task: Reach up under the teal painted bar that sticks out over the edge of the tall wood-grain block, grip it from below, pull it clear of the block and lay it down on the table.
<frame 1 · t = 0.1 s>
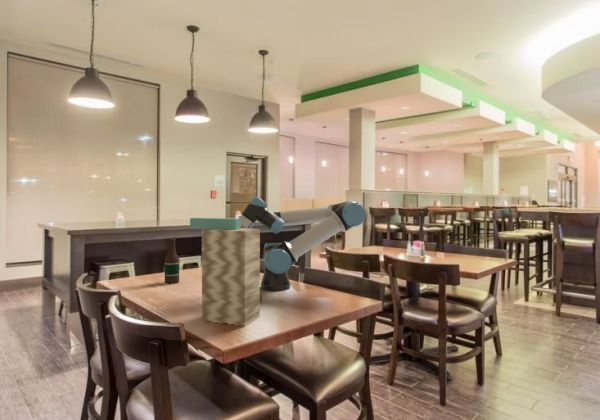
hand: (215, 262, 181), 15 cm above the table, tool tilted 35°, fingers open, 13 cm apart
tall wood-grain block: (231, 318, 147), on the table
beer bottle: (172, 283, 209), on the table
carton: (240, 304, 169), on the table
bar: (215, 228, 148), point 34 cm above the table, touching tall wood-grain block
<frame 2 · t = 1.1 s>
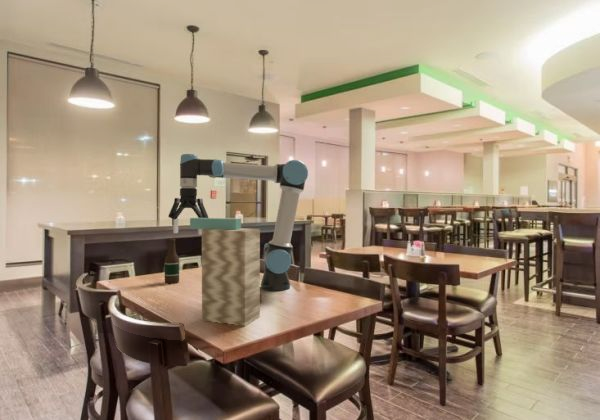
hand: (187, 233, 179), 29 cm above the table, tool pointing down, fingers open, 13 cm apart
nothing on the table moved.
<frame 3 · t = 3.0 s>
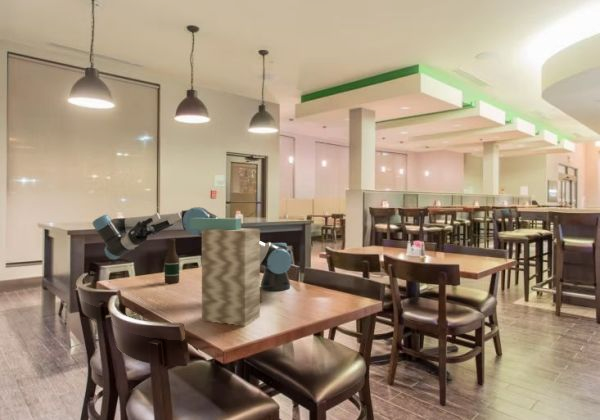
hand: (169, 215, 164), 38 cm above the table, tool pointing upward, fingers open, 13 cm apart
nothing on the table moved.
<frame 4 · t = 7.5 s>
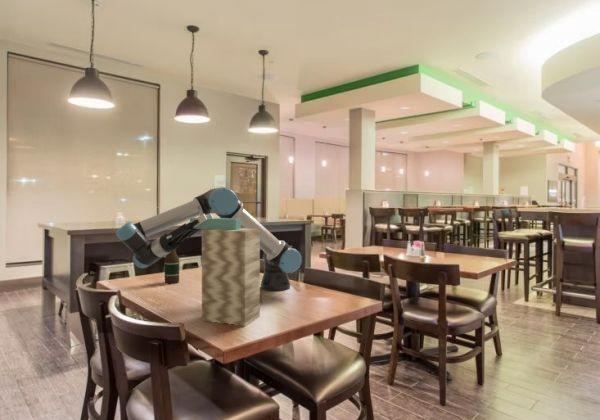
hand: (208, 216, 149), 39 cm above the table, tool pointing upward, fingers closed on bar, 4 cm apart
bar: (215, 228, 148), point 34 cm above the table, touching gripper, tall wood-grain block
everything else where it was.
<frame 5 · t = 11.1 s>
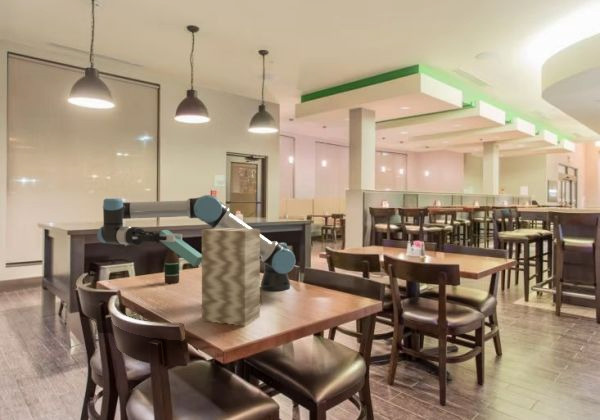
hand: (177, 237, 154), 30 cm above the table, tool horizontal, fingers closed on bar, 4 cm apart
bar: (178, 251, 154), point 24 cm above the table, tilted 30°, touching gripper
everything else where it was.
when the fingers open (13 cm above the table, at t = 14.4 s): bar drops 8 cm, on the table.
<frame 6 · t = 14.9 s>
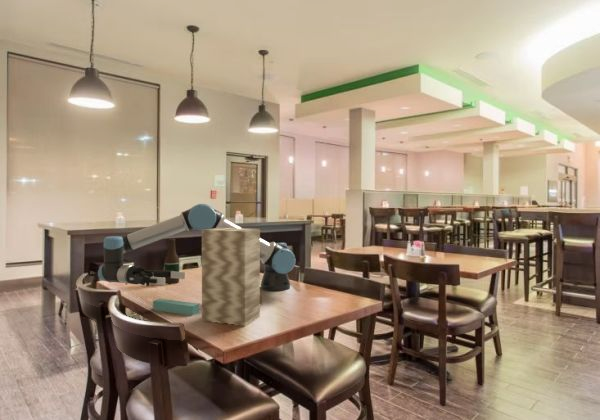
hand: (174, 278, 155), 14 cm above the table, tool horizontal, fingers open, 11 cm apart
bar: (175, 312, 156), on the table
everything else where it was.
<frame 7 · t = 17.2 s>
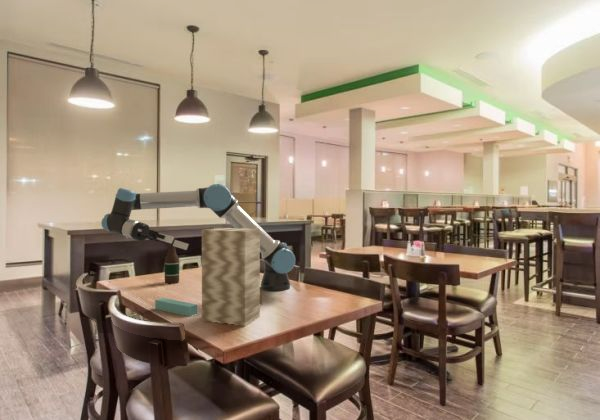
hand: (180, 243, 159), 27 cm above the table, tool horizontal, fingers open, 13 cm apart
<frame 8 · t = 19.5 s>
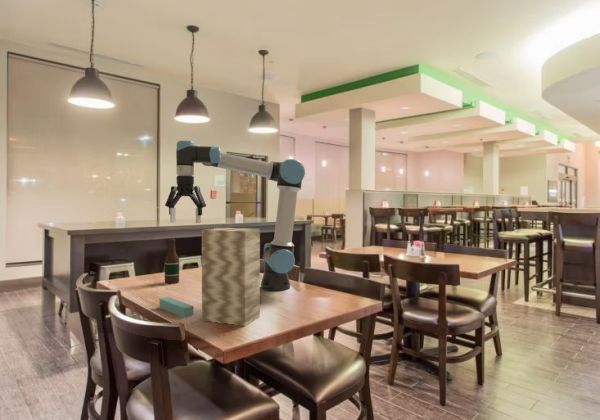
hand: (185, 222, 174), 35 cm above the table, tool pointing down, fingers open, 13 cm apart
at the end: bar on the table; bar moved 39.4 cm from its start; the gripper is holding nothing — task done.
